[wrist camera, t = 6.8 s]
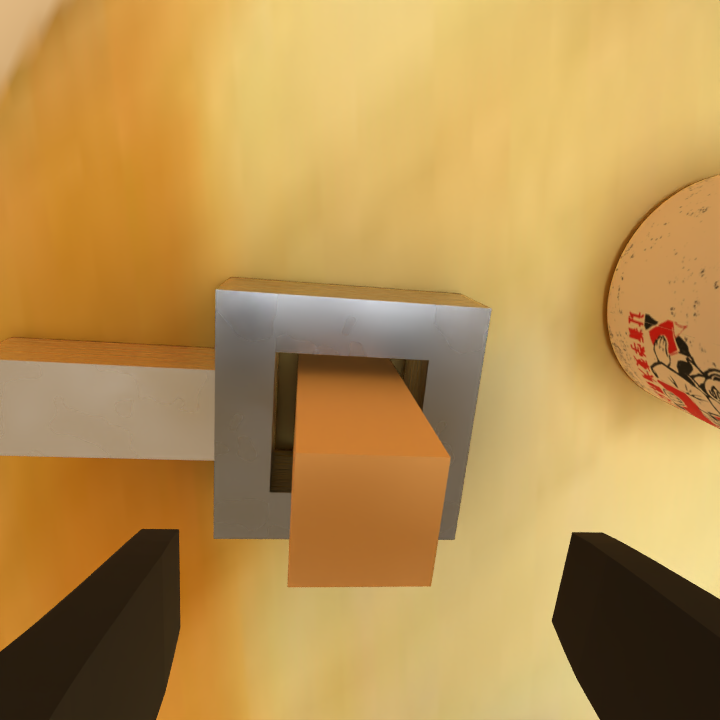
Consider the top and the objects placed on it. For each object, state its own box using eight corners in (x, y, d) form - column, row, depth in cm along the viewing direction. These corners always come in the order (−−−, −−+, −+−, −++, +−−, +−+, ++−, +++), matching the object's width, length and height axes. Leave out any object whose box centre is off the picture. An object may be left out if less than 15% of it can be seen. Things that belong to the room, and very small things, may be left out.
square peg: (387, 355, 18) (450, 457, 10) (378, 435, 19) (431, 586, 11) (298, 349, 17) (295, 452, 10) (294, 432, 18) (287, 587, 11)
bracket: (460, 293, 17) (491, 308, 15) (432, 492, 20) (454, 539, 17) (3, 260, 15) (-65, 269, 13) (27, 485, 18) (-26, 537, 15)
